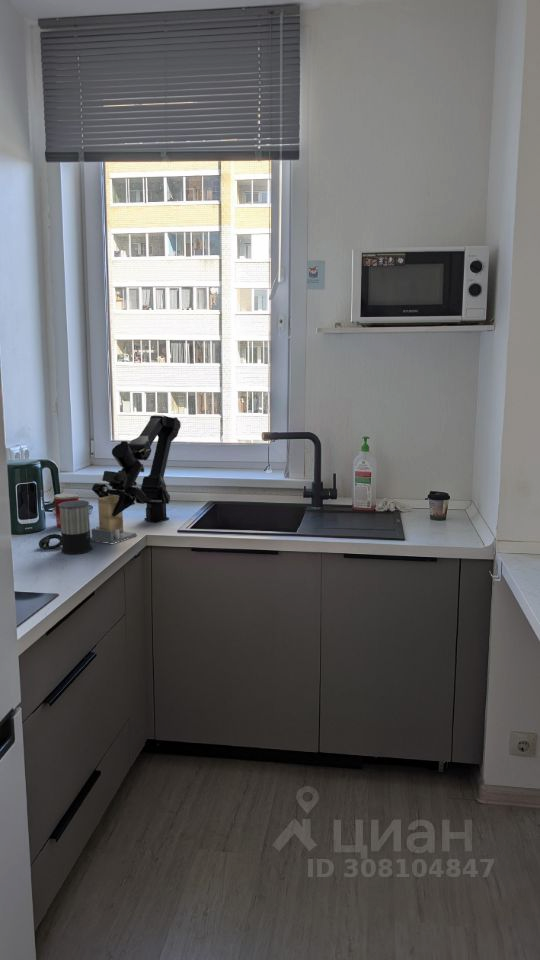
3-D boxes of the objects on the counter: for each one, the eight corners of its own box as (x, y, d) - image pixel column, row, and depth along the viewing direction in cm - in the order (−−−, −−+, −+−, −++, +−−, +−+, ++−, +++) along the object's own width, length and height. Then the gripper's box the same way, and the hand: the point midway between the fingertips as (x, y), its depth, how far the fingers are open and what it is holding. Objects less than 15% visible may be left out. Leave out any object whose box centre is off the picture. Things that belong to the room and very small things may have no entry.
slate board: (115, 532, 249) (114, 521, 248) (136, 536, 244) (135, 524, 243) (90, 541, 239) (90, 528, 238) (112, 544, 234) (112, 532, 234)
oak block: (113, 530, 244) (111, 495, 242) (123, 532, 242) (121, 496, 239) (99, 535, 239) (98, 498, 237) (110, 537, 237) (108, 500, 234)
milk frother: (93, 553, 225) (90, 505, 222) (38, 558, 221) (34, 509, 218) (90, 541, 239) (87, 496, 236) (39, 545, 234) (35, 499, 232)
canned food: (74, 529, 255) (71, 497, 252) (52, 528, 256) (50, 497, 254) (83, 523, 262) (81, 493, 260) (62, 523, 263) (60, 492, 261)
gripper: (93, 458, 244) (71, 498, 237) (138, 462, 235) (116, 504, 227) (111, 478, 252) (90, 517, 245) (155, 482, 243) (134, 523, 236)
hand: (107, 515), depth 238 cm, fingers closed on oak block, 4 cm apart
